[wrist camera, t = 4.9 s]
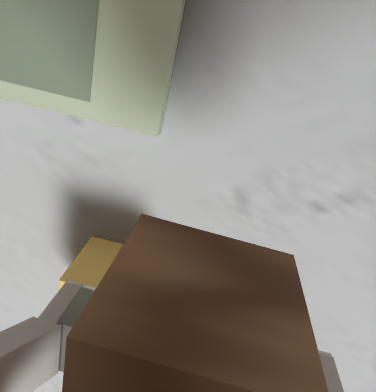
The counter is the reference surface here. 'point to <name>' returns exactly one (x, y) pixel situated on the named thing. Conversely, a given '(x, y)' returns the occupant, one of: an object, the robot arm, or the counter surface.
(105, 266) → the ochre block
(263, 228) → the counter surface
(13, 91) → the plate
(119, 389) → the walnut block
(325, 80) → the counter surface
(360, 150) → the counter surface
